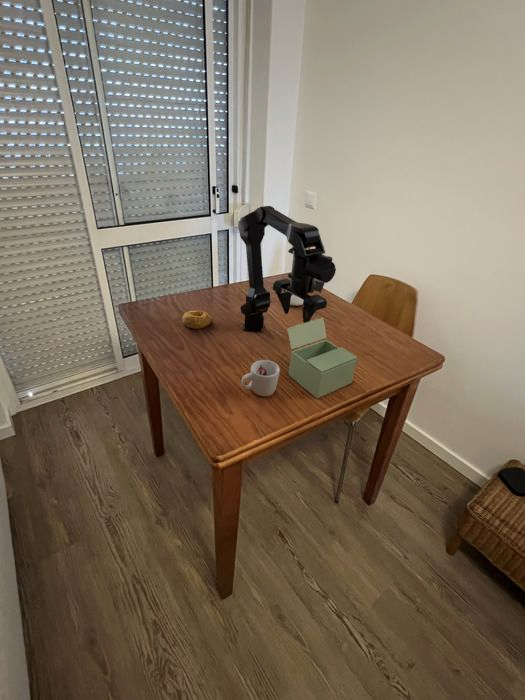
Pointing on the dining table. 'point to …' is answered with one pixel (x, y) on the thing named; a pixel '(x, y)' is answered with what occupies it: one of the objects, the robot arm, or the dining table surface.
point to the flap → (306, 333)
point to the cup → (262, 377)
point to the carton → (322, 367)
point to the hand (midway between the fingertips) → (295, 319)
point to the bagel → (196, 319)
